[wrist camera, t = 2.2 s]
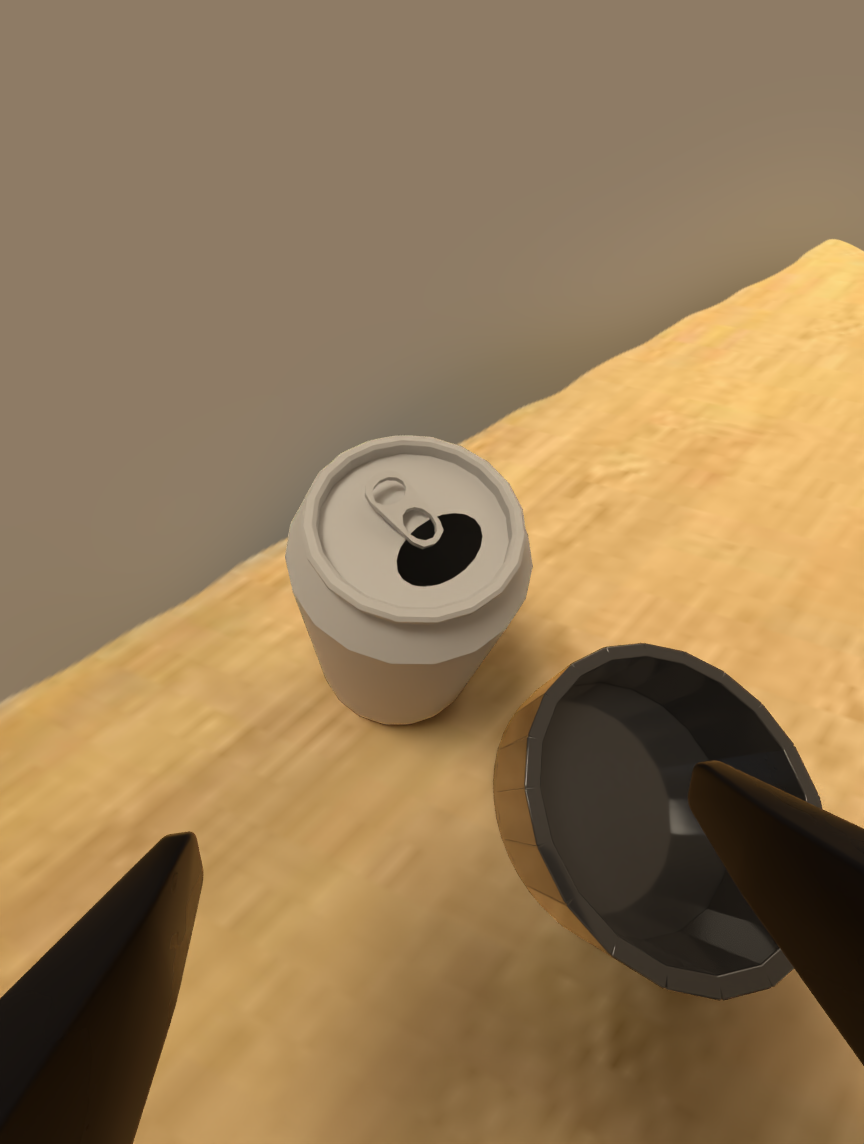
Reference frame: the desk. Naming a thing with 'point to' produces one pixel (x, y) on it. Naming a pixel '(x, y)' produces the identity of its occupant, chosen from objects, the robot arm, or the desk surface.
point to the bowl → (641, 813)
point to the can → (407, 572)
